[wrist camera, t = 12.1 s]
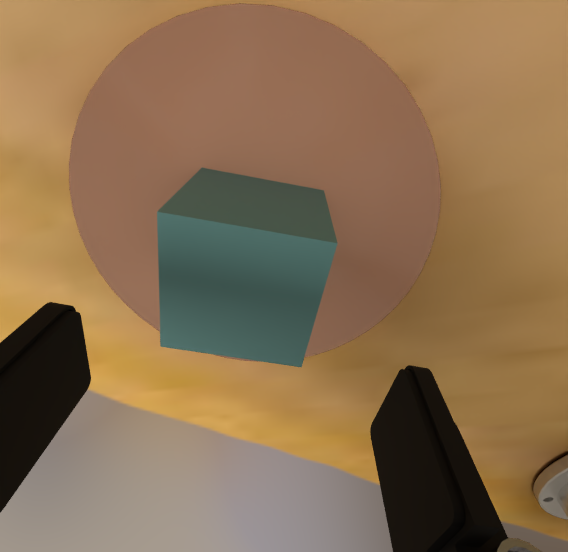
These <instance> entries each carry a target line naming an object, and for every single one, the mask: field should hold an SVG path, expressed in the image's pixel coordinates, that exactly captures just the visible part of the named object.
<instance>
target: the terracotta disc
mask: <svg viewBox="0 0 568 552" xmlns="http://www.w3.org/2000/svg"><path fill="white" fill-rule="evenodd" d="M201 168H207V169H212V170H218V171H223V172H228V173H234V174H239V175H245V176H250V177H255V178H261V179H266V180H271V181H277V182H282V183H287V184H293V185H298V186H304V187H309V188H314V189H320V190H324V193H325V196H326V200H327V204H328V208H329V212H330V216H331V220H332V224H333V227H334V231H335V235H336V239H337V243H338V244H337V247H336V251H335V254H334V257H333V261H332V264H331V268H330V271H329V275H328V278H327V281H326V285H325V288H324V292H323V295H322V298H321V302H320V305H319V309H318V312H317V315H316V319H315V322H314V326H313V329H312V333H311V336H310V339H309V343H308V346H307V350H306V353H305V356H304V357H308V356H313V355H317V354H320V353H323V352H326V351H329V350H331V349H334V348H337V347H339V346H341V345H343V344H345V343H347V342H350V341H352V340H353V339H355V338H357V337H358V336H360V335H362V334H363V333H365V332H367V331H368V330H369V329H371V328H372V327H373V326H375V325H376V324H377V323H379V322H380V321H381V320H383V319H384V318H385V317H386V316H387V315H388V314H389V313H390V312H391V311H392V310H393V309H394V308H395V307H396V306H397V305H398V304H399V302H400V301H401V300H402V299H403V298H404V296H405V295H406V294H407V293H408V292H409V290H410V289H411V287H412V286H413V284H414V282H415V281H416V279H417V278H418V276H419V275H420V273H421V271H422V269H423V266H424V264H425V262H426V260H427V258H428V256H429V253H430V250H431V247H432V244H433V241H434V238H435V235H436V230H437V224H438V219H439V213H440V194H441V184H440V175H439V166H438V159H437V155H436V151H435V148H434V144H433V140H432V136H431V134H430V131H429V129H428V127H427V124H426V122H425V120H424V117H423V115H422V113H421V110H420V108H419V107H418V105H417V104H416V102H415V100H414V99H413V97H412V96H411V94H410V92H409V91H408V89H407V88H406V86H405V85H404V83H403V82H402V81H401V80H400V79H399V78H398V76H397V75H396V74H395V73H394V72H393V71H392V69H391V68H390V67H389V66H388V65H387V64H386V62H385V61H383V60H382V59H381V58H380V57H379V56H377V55H376V54H375V53H374V52H373V51H372V50H370V49H369V48H368V47H367V46H366V45H365V44H363V43H362V42H361V41H359V40H358V39H356V38H354V37H353V36H351V35H349V34H348V33H346V32H345V31H343V30H341V29H340V28H338V27H336V26H335V25H333V24H330V23H328V22H325V21H323V20H320V19H318V18H315V17H313V16H311V15H308V14H306V13H302V12H298V11H294V10H289V9H285V8H281V7H276V6H271V5H255V4H232V5H223V6H213V7H206V8H203V9H200V10H196V11H193V12H189V13H186V14H182V15H179V16H176V17H174V18H172V19H170V20H168V21H166V22H164V23H162V24H160V25H158V26H156V27H154V28H152V29H150V30H148V31H147V32H146V33H144V34H143V35H141V36H140V37H139V38H137V39H136V40H135V41H133V42H132V43H130V44H129V45H128V46H126V47H125V48H124V49H123V50H122V51H121V52H120V53H119V54H118V56H117V57H116V58H115V59H114V60H113V61H112V62H111V63H110V64H109V65H108V66H107V67H106V68H105V70H104V71H103V73H102V74H101V75H100V77H99V78H98V80H97V81H96V83H95V84H94V86H93V87H92V89H91V90H90V92H89V94H88V96H87V99H86V101H85V103H84V105H83V107H82V109H81V112H80V114H79V117H78V120H77V124H76V127H75V131H74V135H73V138H72V144H71V153H70V161H69V184H70V194H71V200H72V207H73V212H74V216H75V219H76V223H77V226H78V229H79V233H80V235H81V238H82V240H83V242H84V244H85V247H86V249H87V251H88V254H89V255H90V257H91V259H92V261H93V262H94V264H95V266H96V267H97V269H98V271H99V273H100V274H101V275H102V277H103V278H104V279H105V281H106V282H107V283H108V285H109V286H110V287H111V289H112V290H113V291H114V292H115V293H116V294H117V295H118V296H119V298H120V299H121V300H122V301H123V302H124V303H125V304H126V305H127V306H128V307H129V308H130V309H132V310H133V311H134V312H135V313H136V314H137V315H138V316H139V317H141V318H142V319H143V320H145V321H146V322H147V323H149V324H150V325H152V326H153V327H154V328H156V329H157V330H159V331H160V305H159V268H158V231H157V211H158V210H159V209H160V208H161V207H162V206H163V205H164V204H165V203H166V202H167V201H168V200H169V199H170V198H171V197H172V196H173V195H174V194H175V193H176V192H177V191H178V190H180V189H181V188H182V187H183V186H184V185H185V184H186V183H187V182H188V181H189V180H190V179H191V178H192V177H193V176H194V175H195V174H196V173H197V172H198V171H199V170H200V169H201ZM213 355H215V354H213ZM217 356H221V357H226V358H231V359H238V360H244V361H255V360H249V359H242V358H235V357H228V356H222V355H217ZM261 362H262V361H261Z"/></svg>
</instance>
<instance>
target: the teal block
mask: <svg viewBox="0 0 568 552" xmlns="http://www.w3.org/2000/svg"><path fill="white" fill-rule="evenodd" d="M157 231H158V268H159V305H160V342H161V347H167V348H174V349H181V350H188V351H195V352H201V353H208V354H215V355H222V356H228V357H235V358H242V359H249V360H255V361H262V362H269V363H276V364H282V365H289V366H296V367H302V363H303V360H304V356H305V353H306V350H307V346H308V343H309V339H310V336H311V333H312V329H313V326H314V322H315V319H316V315H317V312H318V309H319V305H320V302H321V298H322V295H323V292H324V288H325V285H326V281H327V278H328V275H329V271H330V268H331V264H332V261H333V257H334V254H335V251H336V247H337V244H338V243H337V239H336V235H335V231H334V227H333V224H332V220H331V216H330V212H329V208H328V204H327V200H326V196H325V193H324V190H320V189H314V188H309V187H304V186H298V185H293V184H287V183H282V182H277V181H271V180H266V179H261V178H255V177H250V176H245V175H239V174H234V173H228V172H223V171H218V170H212V169H207V168H201V169H200V170H199V171H198V172H197V173H196V174H195V175H194V176H193V177H192V178H191V179H190V180H189V181H188V182H187V183H186V184H185V185H184V186H183V187H182V188H181V189H180V190H178V191H177V192H176V193H175V194H174V195H173V196H172V197H171V198H170V199H169V200H168V201H167V202H166V203H165V204H164V205H163V206H162V207H161V208H160V209H159V210H158V211H157Z"/></svg>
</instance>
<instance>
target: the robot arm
mask: <svg viewBox="0 0 568 552" xmlns="http://www.w3.org/2000/svg"><path fill="white" fill-rule="evenodd" d="M90 381H91V375H90V369H89V363H88V357H87V351H86V345H85V339H84V332H83V326H82V320H81V315H80V313H79V312H76V310H75V308H74V307H73V306H70V305H64V304H58V303H53V302H50V303H47V304H45V305H44V306H43V307H42V308H41V309H39V310H38V311H37V312H36V313H35V314H34V315H32V316H31V317H30V318H29V319H28V320H27V321H25V322H24V323H23V324H22V325H21V326H20V327H18V328H17V329H16V330H15V331H14V332H13V333H11V334H10V335H9V336H8V337H7V338H6V339H4V340H3V341H2V342H1V343H0V512H1V511H2V510H3V508H4V507H5V506H6V504H7V503H8V501H9V500H10V499H11V497H12V496H13V494H14V493H15V491H16V490H17V489H18V487H19V486H20V485H21V483H22V482H23V480H24V478H25V477H26V476H27V474H28V473H29V472H30V470H31V469H32V467H33V466H34V464H35V463H36V462H37V460H38V459H39V457H40V456H41V455H42V453H43V452H44V450H45V449H46V448H47V446H48V445H49V443H50V442H51V440H52V439H53V438H54V436H55V434H56V433H57V432H58V430H59V429H60V428H61V426H62V425H63V423H64V422H65V421H66V419H67V418H68V416H69V415H70V413H71V412H72V410H73V409H74V408H75V406H76V405H77V403H78V402H79V401H80V399H81V398H82V396H83V395H84V394H85V392H86V391H87V389H88V387H89V385H90ZM370 432H371V440H372V445H373V451H374V456H375V461H376V466H377V471H378V476H379V481H380V486H381V491H382V497H383V502H384V507H385V512H386V517H387V522H388V527H389V533H390V537H391V543H392V548H393V552H541V551H540V550H539V549H537V548H535V547H534V546H533V545H531V544H530V543H528V542H525V541H523V540H520V539H513V538H508V537H507V535H506V533H505V530H504V528H503V526H502V524H501V522H500V519H499V517H498V515H497V513H496V510H495V508H494V506H493V504H492V502H491V499H490V497H489V495H488V493H487V491H486V488H485V486H484V484H483V482H482V480H481V477H480V475H479V473H478V471H477V469H476V466H475V464H474V462H473V460H472V458H471V455H470V453H469V451H468V449H467V447H466V444H465V442H464V440H463V438H462V436H461V433H460V431H459V429H458V427H457V425H456V424H455V423H454V421H453V419H452V417H451V414H450V412H449V410H448V408H447V405H446V403H445V401H444V399H443V396H442V394H441V392H440V390H439V388H438V385H437V383H436V381H435V379H434V376H433V374H432V372H431V371H430V370H429V369H427V368H422V367H416V366H410V365H409V366H407V367H406V368H405V370H404V369H401V370H400V371H399V373H398V375H397V377H396V378H395V380H394V382H393V384H392V386H391V388H390V390H389V392H388V394H387V396H386V398H385V399H384V401H383V403H382V405H381V407H380V409H379V411H378V413H377V415H376V417H375V419H374V421H373V422H372V425H371V431H370ZM533 491H534V496H535V497H536V499H537V501H538V502H539V504H540V506H541V507H542V508H543V509H544V510H545V511H546V512H548V513H549V514H551V515H553V516H556V517H559V518H562V519H568V455H566V456H564V457H562V458H560V459H559V460H557V461H555V462H554V463H552V464H551V465H550V466H548V467H547V468H546V469H545V470H544V471H543V472H542V473H541V474H540V475H539V476H538V478H537V479H536V481H535V483H534V488H533Z"/></svg>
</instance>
